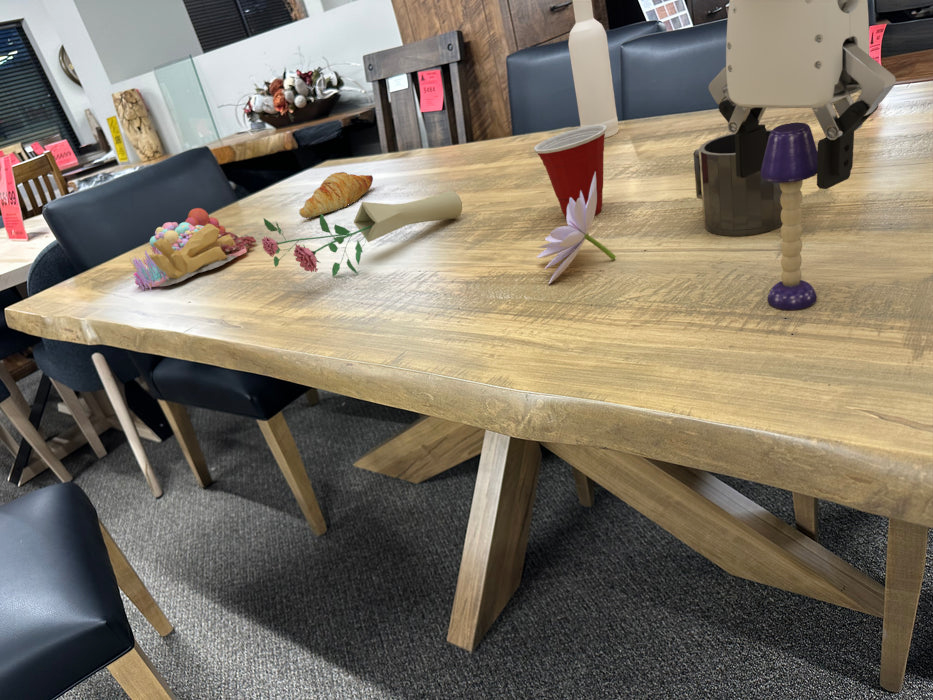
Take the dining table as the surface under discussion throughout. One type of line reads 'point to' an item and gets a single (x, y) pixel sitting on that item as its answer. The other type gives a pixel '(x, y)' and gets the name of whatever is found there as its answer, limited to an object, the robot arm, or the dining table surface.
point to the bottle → (592, 70)
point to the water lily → (573, 232)
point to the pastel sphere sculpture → (188, 250)
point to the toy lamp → (790, 207)
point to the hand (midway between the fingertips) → (790, 176)
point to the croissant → (336, 193)
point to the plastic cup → (574, 163)
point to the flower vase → (372, 226)
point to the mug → (734, 192)
